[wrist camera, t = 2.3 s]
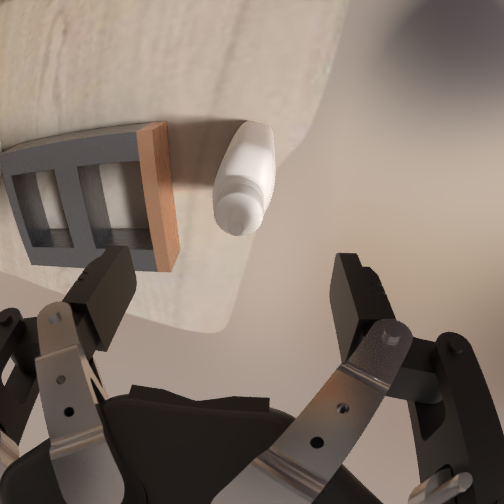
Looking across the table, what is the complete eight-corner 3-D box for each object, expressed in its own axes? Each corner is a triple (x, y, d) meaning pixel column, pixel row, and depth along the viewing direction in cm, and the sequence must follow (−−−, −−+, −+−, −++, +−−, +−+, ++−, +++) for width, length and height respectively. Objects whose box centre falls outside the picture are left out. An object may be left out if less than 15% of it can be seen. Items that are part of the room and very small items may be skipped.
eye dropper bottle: (205, 161, 25) (161, 237, 15) (254, 111, 22) (243, 151, 12) (245, 195, 26) (230, 290, 16) (294, 150, 24) (315, 220, 14)
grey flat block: (20, 143, 23) (-2, 154, 20) (166, 121, 23) (151, 130, 20) (47, 246, 30) (31, 264, 27) (180, 249, 29) (171, 272, 26)
